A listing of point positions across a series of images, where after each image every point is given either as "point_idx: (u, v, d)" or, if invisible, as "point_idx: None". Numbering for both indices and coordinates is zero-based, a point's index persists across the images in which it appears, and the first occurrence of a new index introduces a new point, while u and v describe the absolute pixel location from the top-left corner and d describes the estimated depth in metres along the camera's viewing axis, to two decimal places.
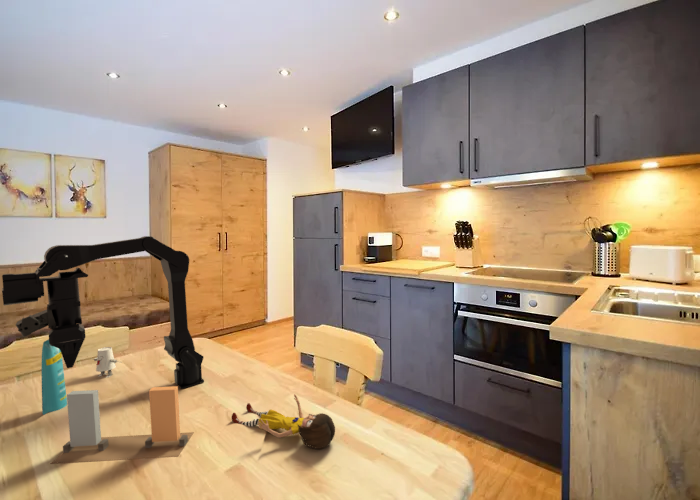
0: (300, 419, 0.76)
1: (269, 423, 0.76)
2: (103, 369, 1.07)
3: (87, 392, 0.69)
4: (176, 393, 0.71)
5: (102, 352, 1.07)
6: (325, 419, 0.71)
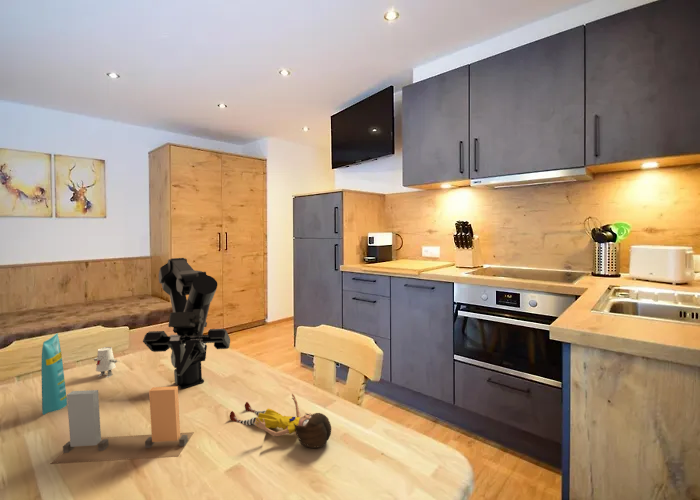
0: (297, 418, 0.76)
1: (266, 422, 0.76)
2: (103, 369, 1.07)
3: (87, 392, 0.69)
4: (176, 393, 0.71)
5: (102, 352, 1.07)
6: (321, 419, 0.72)
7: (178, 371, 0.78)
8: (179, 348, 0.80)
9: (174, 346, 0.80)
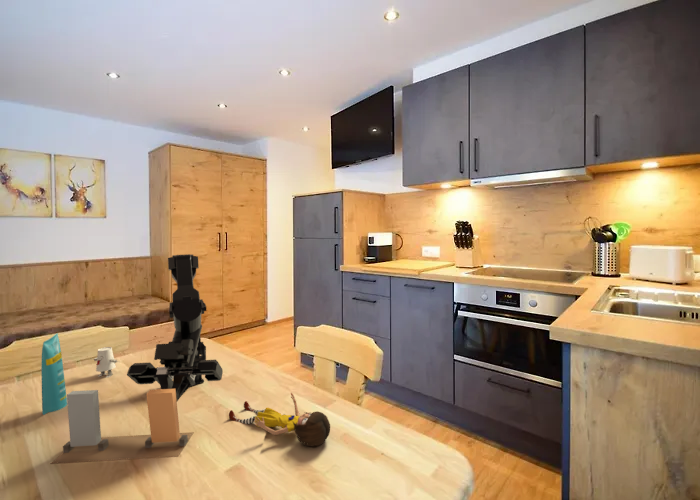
0: (296, 417, 0.76)
1: (265, 421, 0.77)
2: (103, 369, 1.07)
3: (87, 392, 0.69)
4: (174, 396, 0.70)
5: (102, 352, 1.07)
6: (320, 417, 0.72)
7: None
8: (166, 382, 0.73)
9: (161, 380, 0.73)
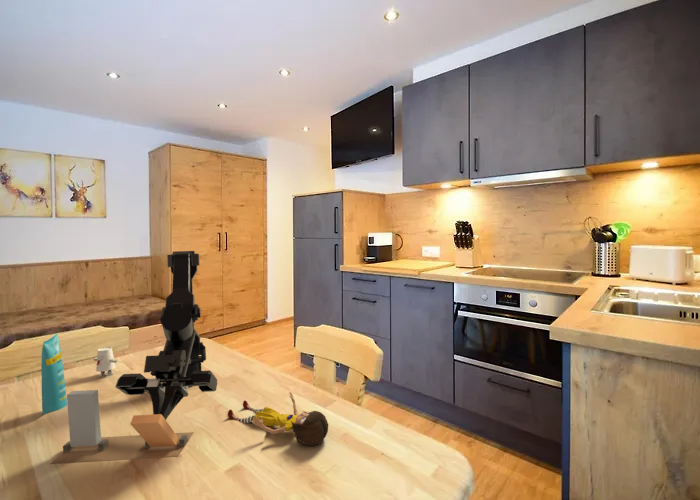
0: (294, 416, 0.77)
1: (264, 420, 0.77)
2: (103, 369, 1.07)
3: (87, 392, 0.69)
4: (161, 420, 0.64)
5: (102, 352, 1.07)
6: (318, 416, 0.72)
7: None
8: (157, 395, 0.70)
9: (152, 393, 0.69)
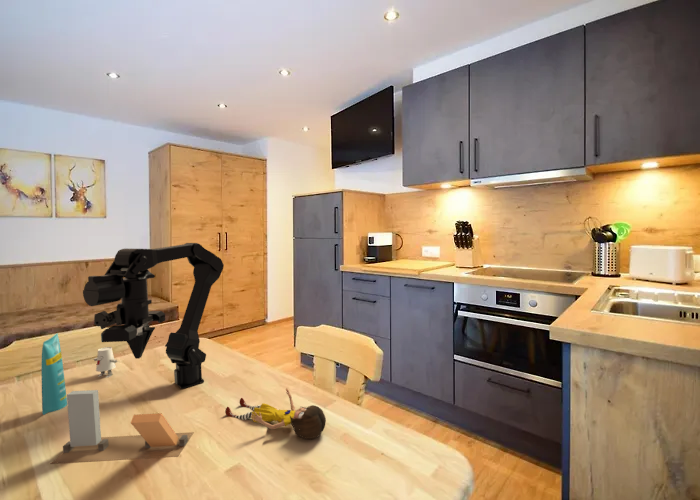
0: (292, 411, 0.79)
1: (262, 416, 0.79)
2: (103, 369, 1.07)
3: (87, 392, 0.69)
4: (162, 420, 0.65)
5: (102, 352, 1.07)
6: (316, 410, 0.75)
7: None
8: None
9: None
